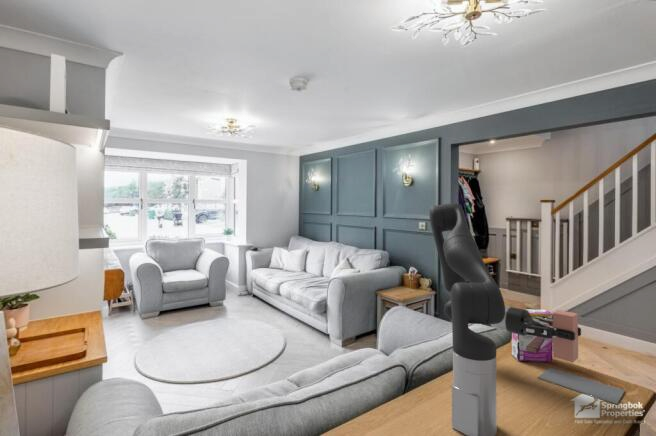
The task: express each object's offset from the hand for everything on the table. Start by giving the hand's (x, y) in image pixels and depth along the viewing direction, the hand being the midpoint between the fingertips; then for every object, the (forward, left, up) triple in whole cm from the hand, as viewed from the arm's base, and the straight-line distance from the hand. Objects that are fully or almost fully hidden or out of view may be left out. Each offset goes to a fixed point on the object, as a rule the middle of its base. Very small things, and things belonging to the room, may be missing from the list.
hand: (577, 334), depth 87 cm
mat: (+9, +2, -17) cm, 20 cm away
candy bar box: (+17, +17, -17) cm, 30 cm away
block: (0, +3, -7) cm, 8 cm away
